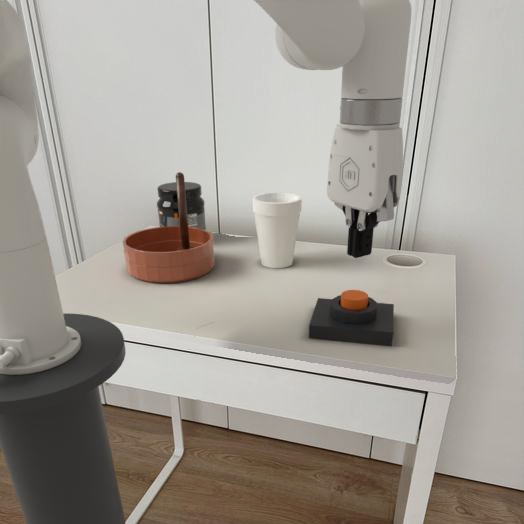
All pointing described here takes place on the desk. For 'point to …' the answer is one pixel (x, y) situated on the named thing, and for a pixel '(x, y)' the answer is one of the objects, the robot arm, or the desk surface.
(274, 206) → the foam cup
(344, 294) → the timer button
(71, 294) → the desk surface
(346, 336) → the black flat block
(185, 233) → the flanged wooden peg
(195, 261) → the bowl
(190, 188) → the supplement container
